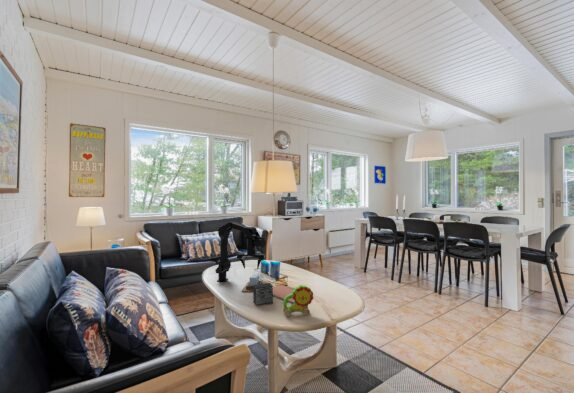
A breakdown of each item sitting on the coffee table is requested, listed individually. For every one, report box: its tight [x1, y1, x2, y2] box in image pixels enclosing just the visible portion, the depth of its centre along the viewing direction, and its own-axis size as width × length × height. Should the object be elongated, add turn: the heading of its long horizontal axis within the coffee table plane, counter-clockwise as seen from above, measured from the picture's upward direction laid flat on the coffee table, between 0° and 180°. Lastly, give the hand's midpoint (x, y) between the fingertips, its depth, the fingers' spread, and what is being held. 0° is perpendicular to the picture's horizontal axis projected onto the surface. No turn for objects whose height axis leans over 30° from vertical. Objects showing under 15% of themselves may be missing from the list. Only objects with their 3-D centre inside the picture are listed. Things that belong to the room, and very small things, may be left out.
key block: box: [249, 273, 260, 286], centre depth 195 cm, size 4×9×7 cm, turn 173°
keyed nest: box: [241, 279, 268, 293], centre depth 195 cm, size 18×13×3 cm
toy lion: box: [283, 284, 314, 318], centre depth 153 cm, size 16×5×15 cm, turn 99°
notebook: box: [273, 284, 295, 305], centre depth 182 cm, size 27×17×2 cm, turn 44°
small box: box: [252, 282, 274, 306], centre depth 169 cm, size 11×6×10 cm, turn 109°
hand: (251, 268), depth 197 cm, fingers open, 9 cm apart
